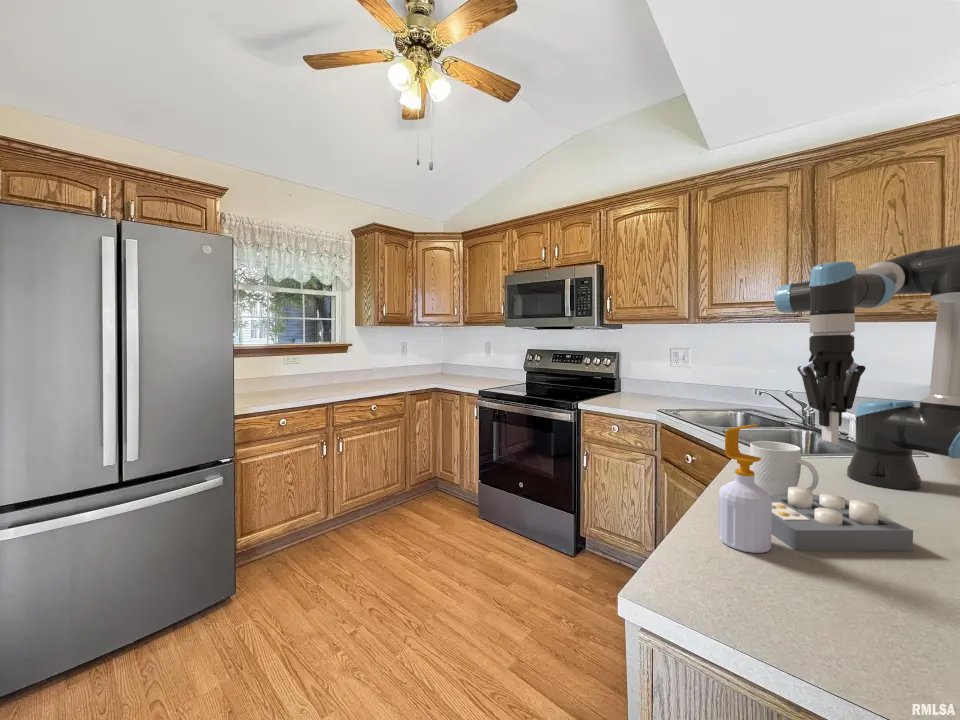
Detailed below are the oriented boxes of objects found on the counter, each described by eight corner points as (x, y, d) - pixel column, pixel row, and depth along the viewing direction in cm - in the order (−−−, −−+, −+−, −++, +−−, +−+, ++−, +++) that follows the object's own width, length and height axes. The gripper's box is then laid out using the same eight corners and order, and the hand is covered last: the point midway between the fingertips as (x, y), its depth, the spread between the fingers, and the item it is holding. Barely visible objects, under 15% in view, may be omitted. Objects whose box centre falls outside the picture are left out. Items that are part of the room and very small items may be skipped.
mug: (825, 500, 105) (826, 449, 104) (809, 510, 99) (809, 457, 98) (760, 484, 117) (760, 438, 117) (742, 492, 111) (742, 444, 111)
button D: (830, 528, 87) (830, 507, 87) (847, 538, 83) (848, 516, 83) (808, 528, 87) (809, 507, 87) (825, 538, 83) (825, 516, 83)
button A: (833, 512, 95) (834, 493, 95) (850, 521, 91) (850, 501, 90) (814, 512, 95) (814, 493, 95) (829, 521, 91) (829, 501, 91)
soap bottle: (755, 558, 78) (756, 430, 77) (709, 538, 86) (709, 422, 85) (781, 547, 82) (782, 425, 81) (734, 529, 90) (735, 418, 89)
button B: (864, 520, 87) (865, 499, 87) (884, 530, 82) (884, 508, 82) (843, 520, 87) (843, 499, 87) (861, 530, 83) (861, 508, 82)
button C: (802, 505, 95) (802, 486, 95) (817, 513, 91) (817, 493, 91) (783, 505, 95) (783, 486, 95) (796, 513, 91) (797, 493, 91)
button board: (836, 512, 98) (836, 494, 97) (912, 550, 80) (913, 528, 79) (741, 512, 99) (741, 494, 98) (795, 550, 81) (795, 528, 81)
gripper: (847, 334, 94) (846, 436, 95) (788, 335, 94) (787, 437, 95) (878, 333, 86) (876, 444, 87) (813, 334, 87) (812, 445, 88)
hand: (829, 440), depth 91 cm, fingers closed
